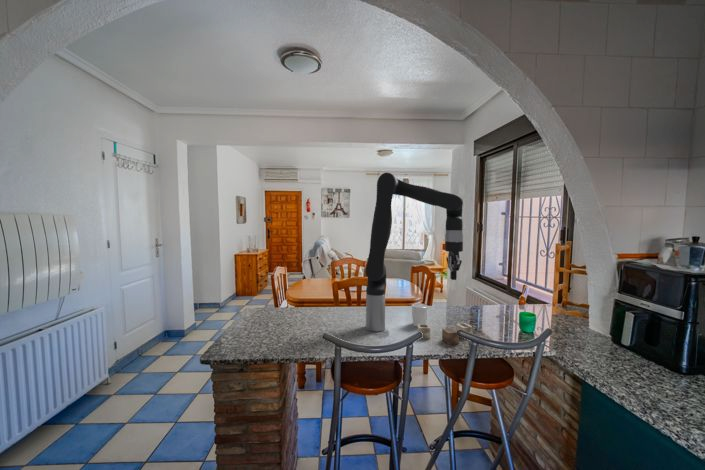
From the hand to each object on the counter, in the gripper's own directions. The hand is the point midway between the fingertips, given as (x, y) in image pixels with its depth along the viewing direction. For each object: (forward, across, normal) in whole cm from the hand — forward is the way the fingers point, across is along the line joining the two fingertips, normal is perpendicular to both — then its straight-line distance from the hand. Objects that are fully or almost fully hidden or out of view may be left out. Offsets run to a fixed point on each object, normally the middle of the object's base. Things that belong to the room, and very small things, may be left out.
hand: (453, 279), depth 124 cm
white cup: (+27, -17, -11) cm, 34 cm away
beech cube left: (+27, -2, -12) cm, 29 cm away
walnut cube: (+27, +4, -2) cm, 27 cm away
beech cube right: (+27, -4, +6) cm, 28 cm away
